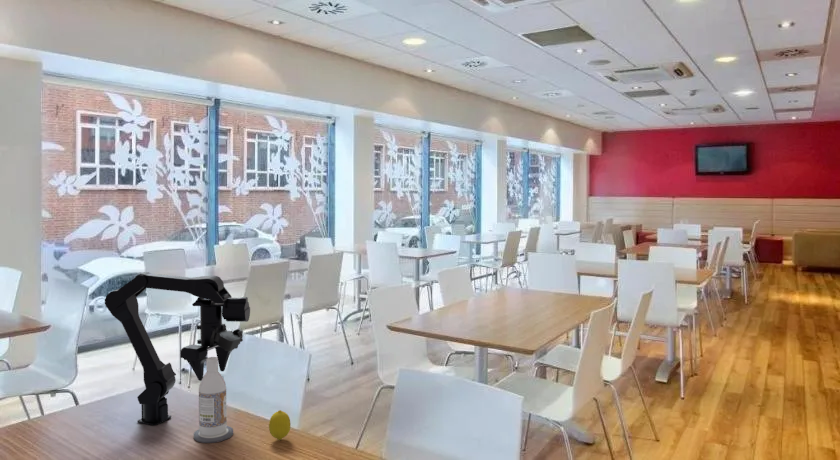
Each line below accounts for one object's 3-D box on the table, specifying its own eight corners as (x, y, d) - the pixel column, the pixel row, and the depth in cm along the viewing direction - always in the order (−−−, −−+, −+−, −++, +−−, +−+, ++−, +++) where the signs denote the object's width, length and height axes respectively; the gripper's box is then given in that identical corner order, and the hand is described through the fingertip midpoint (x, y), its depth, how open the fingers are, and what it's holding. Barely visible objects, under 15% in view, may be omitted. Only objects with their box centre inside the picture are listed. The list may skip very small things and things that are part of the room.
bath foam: (224, 436, 158) (224, 361, 157) (197, 437, 157) (196, 362, 156) (228, 425, 165) (227, 354, 164) (201, 427, 164) (200, 355, 163)
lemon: (285, 445, 156) (285, 415, 155) (265, 443, 157) (265, 413, 156) (293, 436, 161) (293, 407, 160) (274, 434, 162) (274, 405, 161)
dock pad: (185, 439, 158) (185, 436, 158) (210, 425, 168) (210, 422, 168) (216, 445, 155) (216, 442, 155) (240, 431, 164) (240, 427, 164)
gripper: (212, 331, 158) (213, 389, 159) (255, 317, 175) (255, 369, 176) (178, 327, 161) (179, 384, 162) (223, 313, 179) (224, 365, 180)
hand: (211, 375), depth 170 cm, fingers open, 9 cm apart
